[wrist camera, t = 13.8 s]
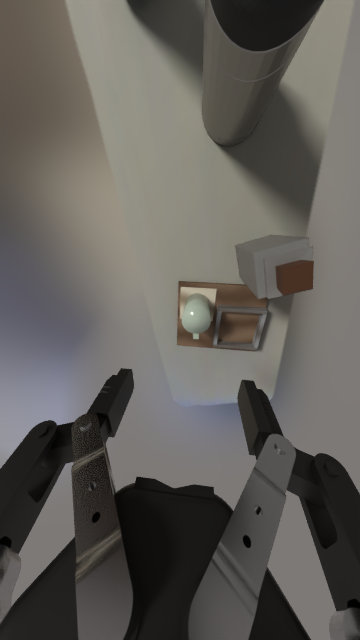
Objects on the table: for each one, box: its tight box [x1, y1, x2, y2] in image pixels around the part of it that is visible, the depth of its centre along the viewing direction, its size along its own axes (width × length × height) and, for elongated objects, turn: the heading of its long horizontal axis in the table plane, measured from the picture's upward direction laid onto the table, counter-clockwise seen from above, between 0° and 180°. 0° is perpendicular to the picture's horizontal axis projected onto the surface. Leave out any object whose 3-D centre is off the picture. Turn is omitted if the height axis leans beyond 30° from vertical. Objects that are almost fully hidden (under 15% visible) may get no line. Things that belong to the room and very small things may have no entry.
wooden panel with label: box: [177, 281, 268, 351], centre depth 42 cm, size 17×20×3 cm
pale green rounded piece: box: [182, 293, 211, 339], centre depth 38 cm, size 6×8×8 cm
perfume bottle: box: [235, 235, 314, 299], centre depth 28 cm, size 7×7×18 cm
